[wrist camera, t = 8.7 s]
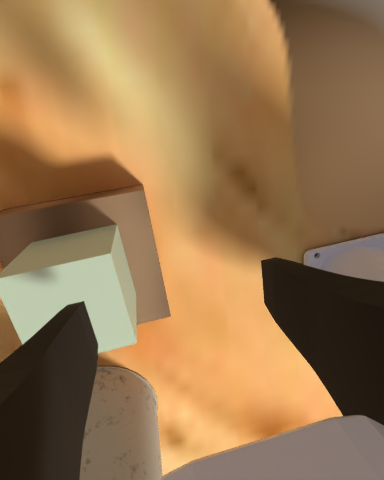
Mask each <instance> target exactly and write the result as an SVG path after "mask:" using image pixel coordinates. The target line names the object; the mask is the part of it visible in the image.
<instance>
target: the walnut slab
mask: <svg viewBox="0 0 384 480" xmlns="http://www.w3.org/2000/svg"><path fill="white" fill-rule="evenodd" d="M115 224H117V226H118V230H119V233H120V237H121V241H122V244H123V248H124V252H125V255H126V259H127V263H128V266H129V270H130V274H131V277H132V281H133V285H134V288H135V292H136V320H137V324H141V323H145V322H149V321H154V320H158V319H162V318H166V317H170V316H171V315H170V310H169V306H168V301H167V296H166V291H165V287H164V282H163V277H162V273H161V268H160V263H159V258H158V254H157V249H156V244H155V240H154V235H153V230H152V225H151V221H150V216H149V211H148V207H147V202H146V197H145V192H144V188H143V184H142V185H137V186H132V187H126V188H121V189H115V190H110V191H104V192H99V193H93V194H88V195H82V196H77V197H71V198H66V199H60V200H55V201H49V202H44V203H38V204H33V205H27V206H22V207H16V208H11V209H5V210H2V211H0V260H1V262H2V265H3V267H4V268H5V267H6V266H7V265H9V264H10V263H11V262H12V261H13V260H14V259H15V258H16V257H17V256H18V255H19V254H20V253H21V252H22V251H23V250H24V249H25V248H26V247H27V246H28V245H29V244H31V243H32V242H36V241H40V240H45V239H50V238H54V237H59V236H64V235H68V234H73V233H78V232H82V231H87V230H92V229H96V228H101V227H106V226H110V225H115Z"/></svg>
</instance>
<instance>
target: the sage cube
mask: <svg viewBox="0 0 384 480" xmlns="http://www.w3.org/2000/svg"><path fill="white" fill-rule="evenodd" d="M0 298H1V300H2V302H3V304H4V306H5V308H6V310H7V313H8V315H9V317H10V319H11V321H12V323H13V326H14V328H15V330H16V332H17V334H18V336H19V338H20V341H21V343H22V345H23V344H24V343H25V342H26V341H27V340H29V339H30V338H31V337H32V336H33V335H34V334H35V333H36V332H38V331H39V330H40V329H41V328H42V327H43V326H44V325H45V324H46V323H47V322H48V321H49V320H51V319H52V318H53V317H54V316H55V315H56V314H57V313H58V312H59V311H60V310H62V309H63V308H64V307H65V306H67V305H69V304H73V303H78V302H82V301H84V303H85V306H86V309H87V312H88V315H89V318H90V321H91V324H92V327H93V330H94V333H95V336H96V339H97V342H98V353H102V352H106V351H110V350H113V349H117V348H121V347H125V346H128V345H132V344H136V343H137V320H136V292H135V288H134V285H133V281H132V277H131V274H130V270H129V266H128V263H127V259H126V255H125V252H124V248H123V244H122V241H121V237H120V233H119V230H118V226H117V224H115V225H110V226H106V227H101V228H96V229H92V230H87V231H82V232H78V233H73V234H68V235H64V236H59V237H54V238H50V239H45V240H40V241H36V242H32V243H31V244H29V245H28V246H27V247H26V248H25V249H24V250H23V251H22V252H21V253H20V254H19V255H18V256H17V257H16V258H15V259H14V260H13V261H12V262H11V263H10V264H9V265H7V266H6V267H5V268H4V269H3V270H2V271H1V272H0Z"/></svg>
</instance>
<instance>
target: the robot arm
mask: <svg viewBox="0 0 384 480" xmlns="http://www.w3.org/2000/svg"><path fill="white" fill-rule="evenodd" d="M316 253H317V256H316V257H314V256H315V254H316ZM261 265H262V278H263V290H264V303H265V305H266V307H267V308H268V310H269V312H270V314H271V315H272V317H273V319H274V320H275V322H276V323H277V324H278V326H279V327H280V328H281V330H282V331H283V332H284V333H285V335H286V336H287V337H288V338H289V339H290V341H291V342H292V343H293V344H294V346H295V347H296V348H297V349H298V351H299V352H300V353H301V354H302V356H303V357H304V358H305V359H306V360H307V362H308V363H309V364H310V366H311V367H312V368H313V370H314V371H315V372H316V374H317V375H318V377H319V378H320V380H321V381H322V383H323V384H324V386H325V387H326V389H327V390H328V392H329V394H330V395H331V397H332V398H333V400H334V401H335V403H336V405H337V406H338V408H339V410H340V411H341V413H342V414H343V416H342V417H332V418H328V419H325V420H321V421H318V422H315V423H312V424H309V425H305V426H302V427H299V428H296V429H293V430H289V431H286V432H283V433H280V434H277V435H273V436H270V437H267V438H264V439H260V440H257V441H254V442H251V443H248V444H244V445H241V446H238V447H235V448H232V449H228V450H225V451H222V452H219V453H216V454H212V455H209V456H206V457H203V458H200V459H196V460H193V461H191V462H189V463H187V464H185V465H183V466H181V467H179V468H177V469H175V470H173V471H171V472H169V473H168V474H166V475H164V476H162V477H161V479H160V480H384V233H381V234H377V235H372V236H368V237H364V238H359V239H355V240H351V241H346V242H342V243H337V244H333V245H329V246H324V247H320V248H315V249H311V250H308V251H306V252H305V254H304V265H303V264H300V263H296V262H293V261H289V260H285V259H281V258H271V259H266V260H262V261H261ZM97 359H98V342H97V339H96V336H95V333H94V330H93V327H92V324H91V321H90V318H89V315H88V312H87V309H86V306H85V303H84V301H82V302H78V303H73V304H69V305H67V306H65V307H64V308H63V309H62V310H60V311H59V312H58V313H57V314H56V315H55V316H54V317H53V318H52V319H51V320H49V321H48V322H47V323H46V324H45V325H44V326H43V327H42V328H41V329H40V330H39V331H38V332H36V333H35V334H34V335H33V336H32V337H31V338H30V339H29V340H27V341H26V342H25V343H24V344H23V345H22V346H20V347H19V348H18V349H17V350H16V351H15V352H13V353H12V354H11V355H10V356H9V357H7V358H6V359H5V360H4V361H2V362H1V363H0V480H79V479H80V468H81V457H82V447H83V438H84V432H85V426H86V421H87V416H88V411H89V406H90V401H91V396H92V391H93V386H94V381H95V376H96V370H97Z"/></svg>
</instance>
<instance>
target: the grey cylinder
mask: <svg viewBox="0 0 384 480" xmlns="http://www.w3.org/2000/svg"><path fill="white" fill-rule="evenodd" d="M157 410H158V403H157V396H156V394H155V392H154V389H153V387H152V386H151V385H150V384H149V382H148V381H147V380H146V379H144V378H143V377H142V376H140V375H139V374H138V373H135V372H133V371H130V370H128V369H125V368H120V367H115V366H98V367H97V370H96V376H95V381H94V386H93V391H92V396H91V401H90V406H89V411H88V416H87V421H86V426H85V432H84V438H83V447H82V457H81V468H80V479H79V480H160V479H161V477H162V465H161V453H160V440H159V428H158V416H157Z"/></svg>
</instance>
